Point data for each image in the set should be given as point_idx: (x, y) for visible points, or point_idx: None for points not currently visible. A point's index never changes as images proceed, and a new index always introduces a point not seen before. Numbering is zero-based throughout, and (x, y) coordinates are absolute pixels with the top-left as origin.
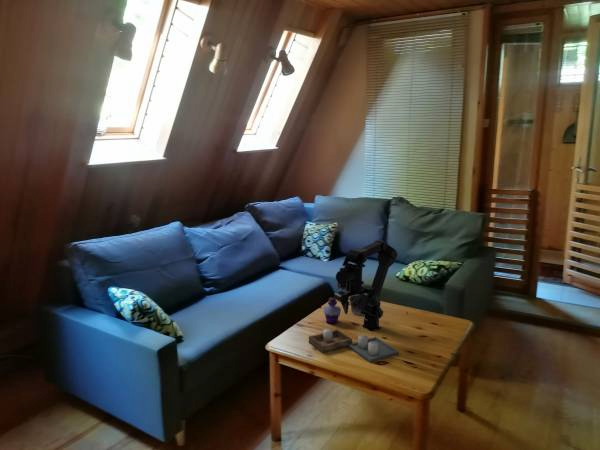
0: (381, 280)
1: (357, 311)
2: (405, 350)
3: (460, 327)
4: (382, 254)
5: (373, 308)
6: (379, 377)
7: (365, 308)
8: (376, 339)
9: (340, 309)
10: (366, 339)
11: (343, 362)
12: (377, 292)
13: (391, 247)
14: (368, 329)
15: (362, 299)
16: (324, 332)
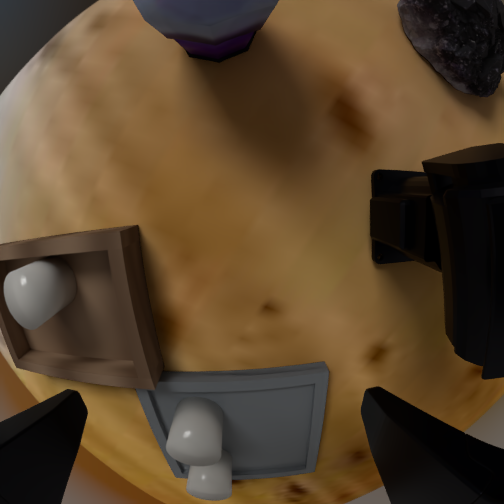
0: None
1: (423, 34)
2: (353, 449)
3: None
4: None
5: (479, 363)
6: (170, 499)
7: (458, 274)
8: (314, 388)
9: (269, 3)
10: (203, 462)
11: (90, 430)
12: None
13: None
14: (373, 243)
15: (455, 496)
16: (8, 305)
